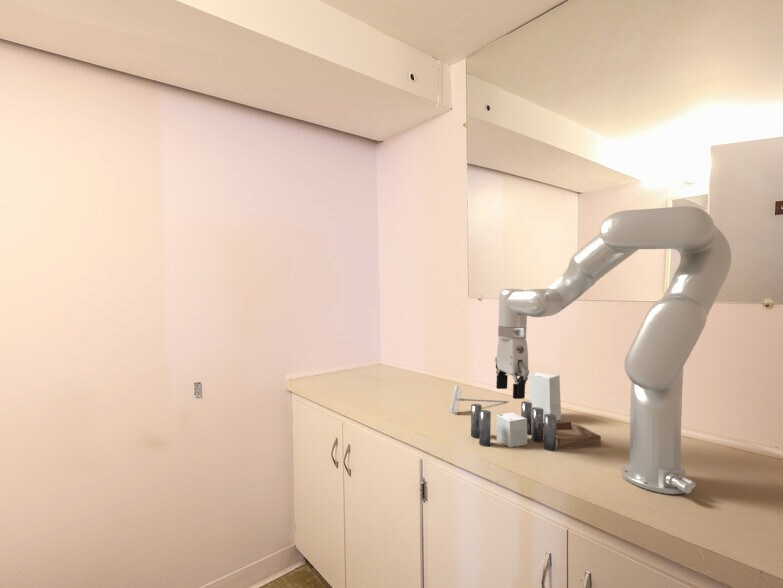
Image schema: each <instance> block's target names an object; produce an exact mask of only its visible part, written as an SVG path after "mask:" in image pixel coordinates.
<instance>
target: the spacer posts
mask: <svg viewBox="0 0 783 588" xmlns="http://www.w3.org/2000/svg"><path fill="white" fill-rule="evenodd" d="M482 407H483V406H482V405H481V404H479V403H472V404H471V405H470V437H471V438H474V439H479V441H478V444H479V445H480V446H482V447H490V446H491V429H492V426H491V425H492V424H491V422H492V420H491V417H492V416H491V415H492V412H491V411H490V410H485V409H483V408H482ZM520 407H521V408H520V410H521V411H520V416H522V417H524V418H527V436H528V435H531V441H532V442H535V443H543V449H544V450H546V451H549V452H555V451H556V450H557V447H556V422H557V421H556V415H553V414H544V421H543V409H542V408H539V407H533V408H532V403H531V402H530V401H527V400H526V401H524V400H523V401H521V406H520ZM543 423H544V438H543ZM489 445H490V446H489Z"/></svg>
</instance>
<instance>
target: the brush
mask: <svg viewBox="0 0 783 588" xmlns="http://www.w3.org/2000/svg"><path fill="white" fill-rule="evenodd" d="M462 392H463V390H462V388H460V387H459V386H458V385H455V386H454V388H453V394H452V398H451V402H450V406H449V413H451V414H452V415H454V416H456V415H457V414H458V410H459V404H460V402H462V401H463V402H464V401H468V402H469V401H470V402H486V403H487V402H488V403H490V402H491V403H504V402H507V403H509V400H497V399H495V400H494V399H479V398H477V399H475V398H462V397H461V396H462Z"/></svg>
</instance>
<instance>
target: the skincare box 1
mask: <svg viewBox="0 0 783 588" xmlns="http://www.w3.org/2000/svg"><path fill="white" fill-rule="evenodd" d="M496 441H497V442H499V441H500V442H499V443H501V442H502V443H501V444H503V445H505V446H506V447H509V448H515V447H514V446H516V447H521V445H522V446H526V445H527V444H528V435H527V418H524V417H522V416H521V414H517V413H516V412H507V413H500V414H496Z"/></svg>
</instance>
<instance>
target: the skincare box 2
mask: <svg viewBox="0 0 783 588" xmlns="http://www.w3.org/2000/svg"><path fill="white" fill-rule="evenodd" d="M560 378H561V377H560V374H559V375H558V374H553V373H546V372H541V371H538V372H533V373H529V375H528V384H529V402H531V403H532V408H533V407H539V408H542V409H543V422H544V414H553V415H556V422H560V421H561V420H562V411H561V410H562V407H561V406H562V405H561V380H560Z"/></svg>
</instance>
